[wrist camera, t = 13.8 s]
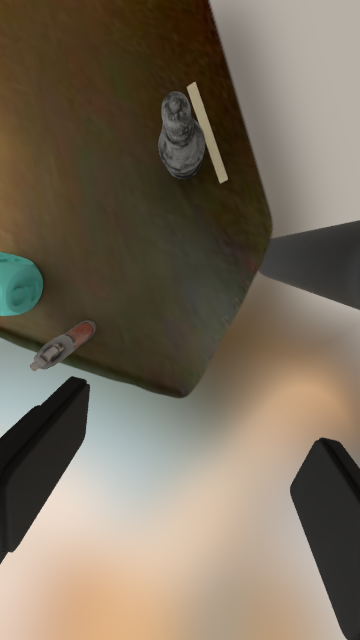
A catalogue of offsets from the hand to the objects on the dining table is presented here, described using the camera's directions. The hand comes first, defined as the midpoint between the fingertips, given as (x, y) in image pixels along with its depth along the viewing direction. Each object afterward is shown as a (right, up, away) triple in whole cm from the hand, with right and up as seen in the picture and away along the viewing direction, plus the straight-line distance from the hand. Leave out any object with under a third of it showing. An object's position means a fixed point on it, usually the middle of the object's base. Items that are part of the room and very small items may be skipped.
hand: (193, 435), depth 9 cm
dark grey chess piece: (0, +28, +21) cm, 35 cm away
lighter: (-19, +2, +31) cm, 37 cm away
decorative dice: (-28, +12, +29) cm, 42 cm away
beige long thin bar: (+3, +30, +20) cm, 36 cm away
